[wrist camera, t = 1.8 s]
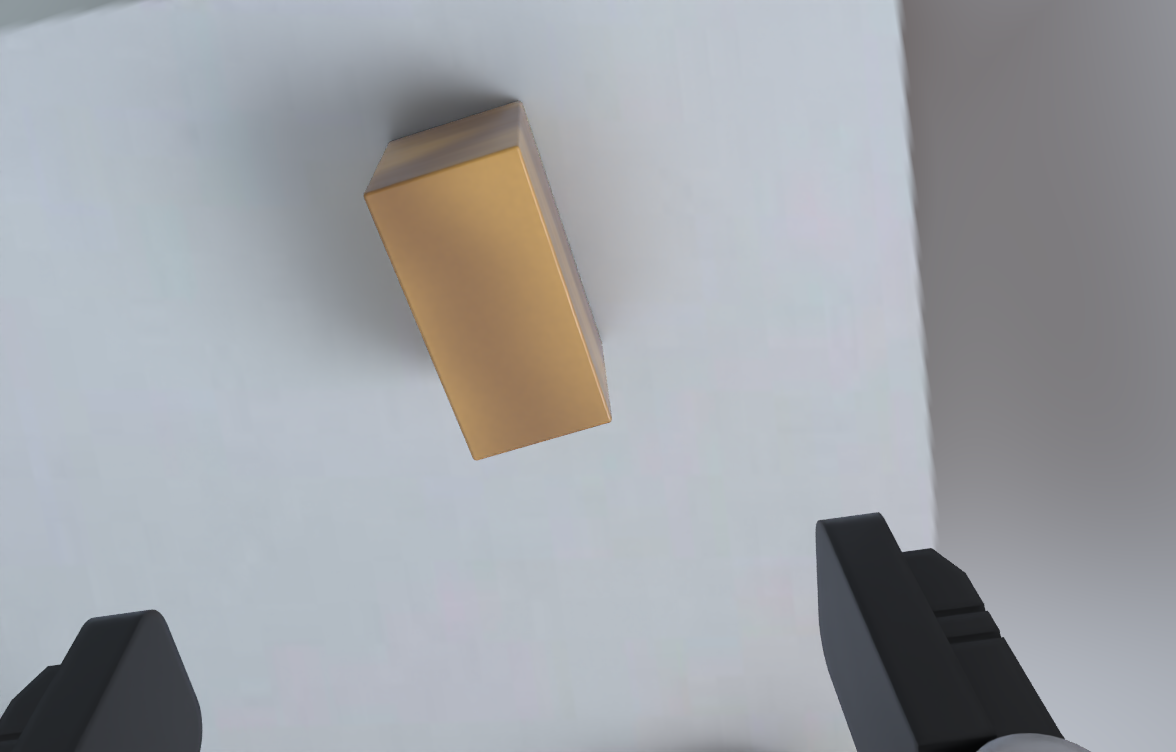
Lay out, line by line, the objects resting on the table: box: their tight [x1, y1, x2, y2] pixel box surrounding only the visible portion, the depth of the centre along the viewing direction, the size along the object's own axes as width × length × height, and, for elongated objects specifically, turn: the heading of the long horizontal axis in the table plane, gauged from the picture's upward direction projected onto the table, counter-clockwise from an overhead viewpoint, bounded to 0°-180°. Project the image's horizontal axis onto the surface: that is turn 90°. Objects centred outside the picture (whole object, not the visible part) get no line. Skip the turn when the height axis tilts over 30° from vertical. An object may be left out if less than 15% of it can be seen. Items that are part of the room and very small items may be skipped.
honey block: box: [364, 101, 612, 460], centre depth 29 cm, size 4×8×5 cm, turn 17°
